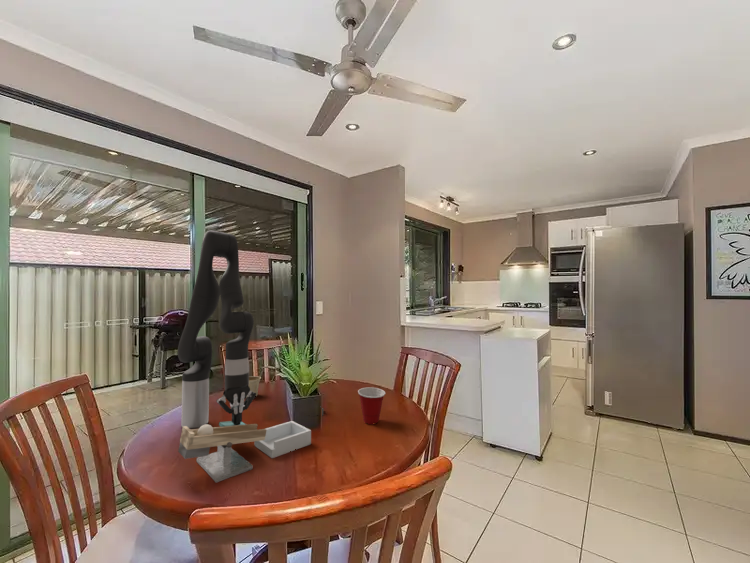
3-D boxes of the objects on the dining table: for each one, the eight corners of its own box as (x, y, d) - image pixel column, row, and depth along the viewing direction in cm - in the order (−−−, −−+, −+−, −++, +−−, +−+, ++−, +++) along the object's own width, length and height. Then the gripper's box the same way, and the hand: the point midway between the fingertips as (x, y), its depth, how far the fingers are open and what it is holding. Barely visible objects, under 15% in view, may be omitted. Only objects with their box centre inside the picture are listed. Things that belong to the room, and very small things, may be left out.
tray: (254, 445, 111) (254, 431, 111) (292, 433, 121) (292, 420, 121) (271, 458, 103) (272, 443, 103) (311, 444, 112) (311, 430, 113)
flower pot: (236, 398, 162) (236, 380, 162) (246, 393, 171) (247, 375, 172) (254, 399, 160) (254, 381, 161) (264, 393, 170) (264, 376, 170)
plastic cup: (370, 429, 124) (370, 396, 125) (352, 421, 132) (352, 390, 133) (391, 422, 132) (391, 391, 132) (373, 415, 140) (373, 385, 140)
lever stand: (196, 461, 101) (196, 440, 101) (230, 450, 108) (230, 431, 108) (216, 482, 89) (216, 459, 90) (252, 469, 96) (252, 447, 97)
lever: (166, 437, 102) (171, 415, 103) (237, 430, 117) (241, 411, 118) (185, 460, 88) (191, 434, 89) (264, 448, 103) (267, 426, 104)
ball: (193, 427, 95) (208, 419, 98) (197, 440, 96) (212, 432, 98) (198, 431, 92) (213, 423, 95) (202, 444, 93) (217, 436, 96)
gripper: (251, 366, 120) (251, 416, 120) (212, 373, 111) (211, 426, 110) (260, 370, 115) (260, 421, 114) (220, 377, 106) (220, 433, 105)
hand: (236, 424), depth 112 cm, fingers closed
